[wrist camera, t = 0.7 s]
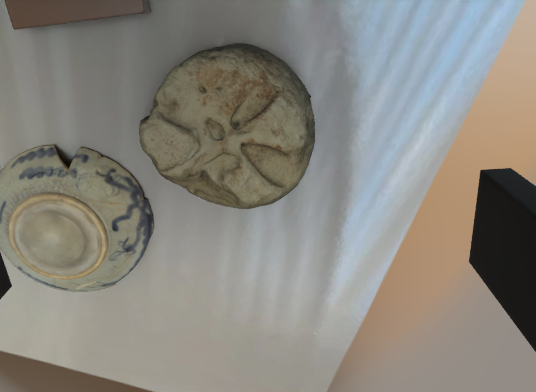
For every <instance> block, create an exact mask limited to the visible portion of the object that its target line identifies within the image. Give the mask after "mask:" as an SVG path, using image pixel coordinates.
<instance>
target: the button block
mask: <svg viewBox="0 0 536 392" xmlns="http://www.w3.org/2000/svg"><path fill="white" fill-rule="evenodd" d="M5 3H6V6H7V10H8V13H9V16H10V19H11V22H12V26H13V29H25V28H33V27H41V26H49V25H57V24H65V23H72V22H80V21H88V20H96V19H104V18H111V17H119V16H127V15H135V14H143V13H150V12H151V9H150V4H149V0H5Z"/></svg>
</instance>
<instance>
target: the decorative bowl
mask: <svg viewBox="0 0 536 392" xmlns="http://www.w3.org/2000/svg"><path fill="white" fill-rule="evenodd" d="M153 229H154V224H153V215H152V211H151V207H150V205H149V202H148V200H147V199H144V198H143V192H142V189H141V188H140V187H139V184H138V182H137V181H136V180H135V179H134V177H133V176H132V175H131V174H130V173H129V172H127V171H126V170H125V169H124V168H122V167H121V166H120V165H119V164H118V163H117V162H114V161H112V160H110V159H108V158H107V157H101V155H100V154H99V153H97V152H95V151H92V150H90V149H86V148H83V147H80V148H79V150H78V151H77V153H76V155H75V157H74V159H73V161H72V163H71V165H70V168H68V167H67V166H66V165H65V164H64V162H63V161H62V160H61V159H60V157H59V155H58V153H57V150H56V148H55V146H54V145H50V146H46V145H45V146H41V147H36V148H33V149H30V150H27V151H25V152H23V153H21V154H19V155H18V156H16V157H15V158H13V159H12V160H11V161H10V162H9V163H8V164H6V166H5V167H4V168H3V169H2V171H1V172H0V248H1V250H2V251H3V253H4V254H5V256H6V257H7V258H8V260H9V261H10V262H11V263H12V264H13V265H14V266H15V267H16V268H17V269H19V270H20V271H21V272H22V273H24V274H25V275H27V276H28V277H30V278H31V279H33V280H35V281H37V282H39V283H41V284H43V285H46V286H48V287H52V288H55V289H59V290H64V291H73V292H88V291H95V290H100V289H104V288H107V287H110V286H113V285H115V284H116V283H117V282H118V281H119V280H121V279H122V278H124V277H125V276H126V275H127V274H128V273H129V272H130V271H131V270H132V269H133V268H134V267H135V266H136V264H137V263H138V261H139V260H140V259H141V257H142V255H143V253H144V251H145V248H146V245H147V243H148V241H149V238H150V236H151V234H152V232H153Z"/></svg>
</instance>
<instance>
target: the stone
mask: <svg viewBox="0 0 536 392" xmlns="http://www.w3.org/2000/svg"><path fill="white" fill-rule="evenodd" d="M310 98H311V96H310V95H309V93H308V92H307V90H306V88H305V86H304V84H303V83H302V82H301V80H300V79H299V78H298V77H297V75H296V74H295V73H294V72H293V71H292V70H291V69H290V67H289V66H288V65H287V64H286V63H285V62H284V61H282V60H281V59H279V58H278V57H276V56H274V55H273V54H271V53H269V52H268V51H266V50H264V49H261V48H259V47H256V46H253V45H249V44H233V45H227V46H224V47H217V48H213V49H209V50H205V51H201V52H198V53H197V54H195V55H193V56H191V57H190V58H188V59H187V60H185V61H184V62H183V63H181V64H180V65H179V66H177V67H175V68H174V69H173V70H172V71H171V72H170V73H169V74H168V75H167V77H166V78H165V80H164V81H163V83H162V84H161V86H160V88H159V89H158V91H157V93H156V96H155V99H154V104H153V108H152V109H151V111H150V115H149V116H147V117H145V118H144V119H143V120H141V121H140V126H139V133H140V143H141V146H142V149H143V151H144V152H145V153H146V154H147V155H148V156H149V157H150V158H151V160H152V162H153V164H154V165H155V167H156V169H157V170H158V172H159V173H160V175H162V176H163V177H164V178H165V179H167V180H170V181H172V182H173V183H176V184H178V185H180V186H182V187H184V188H186V189H187V190H188V191H189V192H190V193H192V194H194V195H196V196H198V197H200V198H202V199H204V200H207V201H209V202H212V203H216V204H219V205H223V206H228V207H233V208H239V209H250V208H255V207H259V206H264V205H269V204H272V203H274V202H276V201H278V200H279V199H281V198H282V197H284V196H285V195H287V194H288V193H289V192H290V191H292V190H293V189H294V188H295V187H296V186H297V185H298V184H299V182H300V180H301V179H302V177H303V175H304V174H305V170H306V168H307V166H308V164H309V160H310V157H311V154H312V151H313V147H314V142H315V129H314V126H315V122H314V115H313V111H312V107H311V101H310Z"/></svg>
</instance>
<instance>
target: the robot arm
mask: <svg viewBox="0 0 536 392" xmlns="http://www.w3.org/2000/svg"><path fill="white" fill-rule="evenodd" d="M469 262H470V264H471V265H472V266H473V268H474V269H475V270H476V272H477V273H478V274H479V276H480V277H481V278H482V280H483V281H484V283H485V284H486V285H487V287H488V288H489V289H490V291H491V292H492V293H493V295H494V296H495V298H496V299H497V300H498V301H499V303H500V304H501V305H502V307H503V308H504V310H505V311H506V312H507V314H508V315H509V316H510V318H511V319H512V320H513V322H514V323H515V325H516V326H517V327H518V328H519V330H520V331H521V333H522V334H523V335H524V336H525V338H526V339H527V341H528V342H529V343H530V345H531V346H532V348H533V349H534V350H535V351H536V186H535V185H533V184H532V183H530V182H529V181H528V180H526V179H525V178H524V177H522V176H521V175H519V174H518V173H517V172H515V171H514V170H512V169H511V168H506V169H489V170H481V171H480V179H479V187H478V196H477V204H476V212H475V219H474V226H473V235H472V242H471V250H470V258H469ZM11 287H12V285H11V282H10V279H9V276H8V273H7V270H6V267H5V265H4V262H3V259H2V256H1V253H0V299H1V298H2V297H3V296H4V294H5V293H6V292H7V291H8V290H9V289H10V288H11Z"/></svg>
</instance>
